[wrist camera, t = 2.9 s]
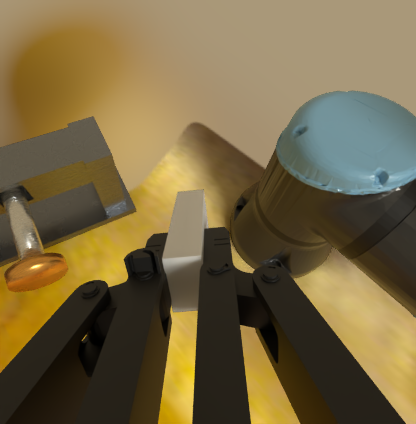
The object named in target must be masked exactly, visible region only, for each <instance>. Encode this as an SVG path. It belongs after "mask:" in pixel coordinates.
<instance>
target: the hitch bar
mask: <svg viewBox="0 0 416 424" xmlns="http://www.w3.org/2000/svg"><path fill="white" fill-rule="evenodd" d="M19 186H23V189H24V192H25V195H26V198H27V201H28V204H29V207H30V210H31V213H32V216H33V219H34V222H35V225H36V228H37V231H38V234H39V237H40V240H41V243H42V246H43V249H45V248H48V247H50V246H53V245H55V244H58V243H60V242H63V241H65V240H67V239H70V238H72V237H75V236H77V235H80V234H82V233H85V232H87V231H90V230H92V229H95V228H97V227H100V226H102V225H104V224H107V223H109V222H112V221H114V220H117V219H119V218H122V217H124V216H127V215H129V214H132V213H134V212H136V208H135V206H134V204H133V202H132V200H131V198H130V195H129V193H128V191H127V189H126V187H125V185H124V183H123V181H122V179H121V177H120V175H119V173H118V171H117V169H116V166H115V164H114V160H113V157H112V154H111V152H110V150H109V148H108V145H107V143H106V142H105V139H104V137H103V135H102V133H101V131H100V129H99V127H98V125H97V123H96V121H95V119H94V117H89V118H86V119H83V120H79V121H76V122H72V123H69V124H68V128H64V129H61V130H58V131H54V132H51V133H47V134H44V135H41V136H38V137H34V138H31V139H27V140H24V141H21V142H17V143H14V144H11V145H8V146H4V147H1V148H0V193H1V192H4V191H7V190H10V189H13V188H16V187H19ZM18 259H19V256H18V252H17V249H16V246H15V242H14V239H13V236H12V232H11V229H10V226H9V222H8V219H7V216H6V212H5V209H4V205H3V202H2V199H1V195H0V267H1V266H3V265H6V264H8V263H11V262H13V261H16V260H18Z"/></svg>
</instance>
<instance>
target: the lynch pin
mask: <svg viewBox="0 0 416 424" xmlns="http://www.w3.org/2000/svg"><path fill="white" fill-rule="evenodd" d="M0 195H1V199H2V202H3V205H4V209H5V212H6V216H7V219H8V222H9V226H10V229H11V232H12V236H13V239H14V242H15V246H16V249H17V252H18V256H19V259H20V261H19V262H17V263H15V264H14V265H12V266H11V267H10V268H8V269H7V270H6V272H5V274H4V276H5V280H6V283H7V287H8V289H9V290H10V291H13V292H24V291H30V290H35V289H38V288H41V287H44V286H47V285H49V284H51V283H53V282H55V281H57V280H59V279H60V278H62V277H63V276H64V275H65V274H66V273H67V271H68V267H67V264H66V261H65V258H64V256H63V255H61V254H58V253H45V252H44V249H43V246H42V243H41V240H40V237H39V234H38V231H37V228H36V225H35V222H34V219H33V216H32V213H31V210H30V207H29V204H28V201H27V198H26V195H25V192H24V189H23V186H19V187H16V188H13V189H10V190H7V191H4V192H1V193H0Z"/></svg>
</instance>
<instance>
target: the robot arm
mask: <svg viewBox="0 0 416 424" xmlns="http://www.w3.org/2000/svg"><path fill="white" fill-rule="evenodd" d="M230 232H231V237H232V241H233V244H234V246H235V248H236V250H237V251H238V253H239V254H240V256H241V257H242V258H243V259H244V261H245V262H246V263H247V264H249V265H250V266H251V267H252V268H254V269H255V271H254V272H253V274H252V273H246V272H242V271H240V270H238V269H237V268H236V267H235V266H234V265H233V262H232V253H231V245H230V236H229V231H228V230H227V229H226V228H225V227H218V228H208V220H207V212H206V204H205V195H204V189H203V190H193V191H182V192H178V193H177V197H176V202H175V206H174V210H173V214H172V219H171V223H170V227H169V231H168V233H159V234H153V235H152V236H151V237H150V238H149V239H148V240H147V243H146V247H145V248H142V249H137V250H135V251H132V252H131V253H129V254H128V255H126V257H125V258H124V262H125V265H126V269H127V272H128V279H127V281H126V282H124V283H121V284H119V285H115V286H112V287H108V284H107V283H106V282H105V281H101V280H93V281H89V282H86V283H85V284H83V285H81V286H79V287H78V288H77V289H76V290H75V291H74V292H73V293H72V294H71V295H70V296H69V298H68V299H67V300H66V301H65V302H64V303H63V304H62V305H61V306H60V308H59V309H58V310H57V311H56V312H55V313H54V314H53V315H52V316H51V318H50V319H49V320H48V321H47V322H46V323H45V324H44V325H43V326H42V328H41V329H40V330H39V331H38V332H37V333H36V334H35V335H34V336H33V337H32V339H31V340H30V341H29V342H28V343H27V344H26V345H25V346H24V347H23V349H22V350H21V351H20V352H19V353H18V354H17V355H16V356H15V357H14V359H13V360H12V361H11V362H10V363H9V364H8V365H7V366H6V367H5V369H4V370H3V371H2V372H1V373H0V424H158V418H159V411H160V404H161V397H162V389H163V382H164V375H165V368H166V361H167V353H168V346H169V339H170V332H171V324H172V319H171V314H170V309H171V305H172V309H173V312H183V311H196V310H198V319H197V339H196V360H195V381H194V401H193V422H192V424H251V420H250V411H249V402H248V393H247V384H246V375H245V366H244V357H243V348H242V339H241V330H240V325H244V326H249V327H253V328H255V330H256V333H257V335H258V337H259V339H260V341H261V343H262V345H263V347H264V349H265V351H266V354H267V356H268V358H269V360H270V362H271V364H272V366H273V368H274V370H275V372H276V374H277V376H278V378H279V380H280V382H281V384H282V387H283V389H284V391H285V393H286V395H287V397H288V399H289V401H290V403H291V405H292V407H293V409H294V411H295V413H296V415H297V417H298V419H299V422H300V424H406V423H405V422H404V421H403V419H402V418H401V417H400V416H399V414H398V413H397V412H396V410H395V409H394V408H393V407H392V405H391V404H390V403H389V401H388V400H387V399H386V398H385V396H384V395H383V394H382V393H381V391H380V390H379V389H378V387H377V386H376V385H375V384H374V382H373V381H372V380H371V378H370V377H369V376H368V375H367V373H366V372H365V371H364V369H363V368H362V367H361V366H360V364H359V363H358V362H357V361H356V359H355V358H354V357H353V355H352V354H351V353H350V352H349V350H348V349H347V348H346V346H345V345H344V344H343V343H342V341H341V340H340V339H339V338H338V336H337V335H336V334H335V332H334V331H333V330H332V329H331V327H330V326H329V325H328V323H327V322H326V321H325V320H324V318H323V317H322V316H321V315H320V313H319V312H318V311H317V309H316V308H315V307H314V306H313V304H312V303H311V302H310V300H309V299H308V298H307V297H306V295H305V294H304V293H303V292H302V290H301V289H300V288H299V286H298V285H297V284H296V283H295V281H294V280H293V279H294V278H299V277H302V276H304V275H306V274H308V273H310V272H312V271H313V270H315V269H316V268H317V267H319V266H320V265H321V264H322V263H323V262H324V261H325V260H326V258H327V257H328V255H329V253H330V251H331V249H332V246H333V247H334V248H335V249H337V250H338V251H339V252H340V253H341V254H343V255H344V256H345V257H346V258H347V259H349V260H350V261H351V262H352V263H353V264H354V265H356V266H357V267H358V268H359V269H360V270H361V271H363V272H364V273H365V274H366V275H367V276H368V277H370V278H371V279H372V280H373V281H374V282H375V283H377V284H378V285H379V286H380V287H381V288H382V289H384V290H385V291H386V292H387V293H388V294H389V295H391V296H392V297H393V298H394V299H395V300H396V301H398V302H399V303H400V304H401V305H402V306H403V307H405V308H406V309H407V310H408V311H409V312H410V313H411V314H412V315H413V316H414V317H415V318H416V117H415V116H414V115H413V114H412V113H411V112H409V111H408V110H407V109H405V108H404V107H402V106H401V105H399V104H397V103H395V102H393V101H391V100H389V99H387V98H384V97H381V96H379V95H375V94H370V93H367V92H360V91H348V92H341V91H335V92H329V93H325V94H322V95H319V96H317V97H315V98H313V99H311V100H309V101H308V102H306V103H305V104H304V105H302V106H301V107H300V108H299V109H298V110H297V111H296V113H295V114H294V116H293V117H292V119H291V121H290V123H289V124H288V126H287V128H285V130H284V131H283V132H282V133H281V135H280V137H279V139H278V141H277V145H276V149H275V151H274V153H273V155H272V157H271V159H270V161H269V163H268V165H267V167H266V170H265V172H264V174H263V176H262V178H261V180H260V181H259V182H257V183H256V184H254V185H253V186H251V187H250V188H248V189H247V190H246V191H245V192H244V193H243V194H242V195H241V196H240V198H239V199H238V201H237V203H236V205H235V207H234V210H233V212H232V215H231V220H230ZM85 335H87V336H86V337H85ZM84 337H85V339H84V340H83V341H82V339H83V338H84Z"/></svg>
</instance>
